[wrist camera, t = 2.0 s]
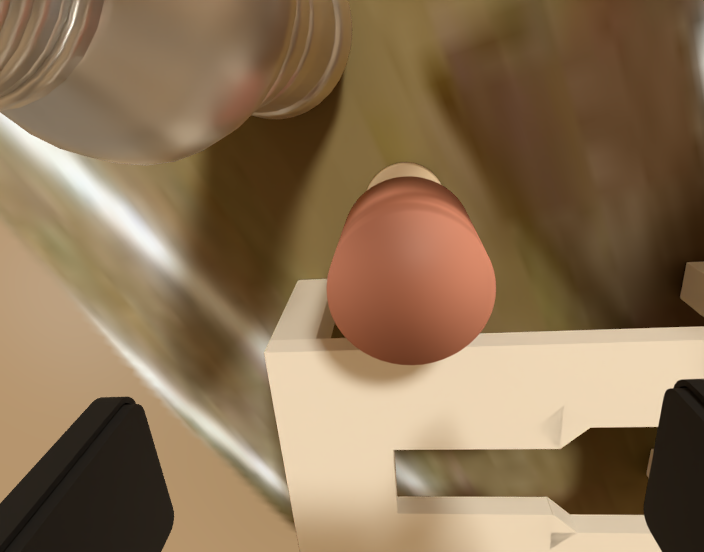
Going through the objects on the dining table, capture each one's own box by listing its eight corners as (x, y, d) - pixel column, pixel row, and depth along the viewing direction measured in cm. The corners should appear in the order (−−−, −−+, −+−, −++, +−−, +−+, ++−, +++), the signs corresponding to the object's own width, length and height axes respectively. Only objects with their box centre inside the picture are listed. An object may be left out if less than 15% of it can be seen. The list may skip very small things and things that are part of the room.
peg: (454, 147, 23) (498, 206, 13) (454, 246, 25) (493, 363, 15) (351, 155, 24) (317, 217, 14) (359, 251, 26) (334, 367, 16)
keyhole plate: (729, 260, 24) (861, 335, 17) (681, 474, 30) (766, 596, 23) (298, 280, 27) (263, 352, 20) (325, 474, 32) (305, 585, 25)
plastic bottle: (201, 83, 23) (-546, 134, 5) (238, -77, 21) (-1103, -1332, 2) (327, 135, 24) (85, 361, 5) (380, -16, 21) (264, -627, 3)
